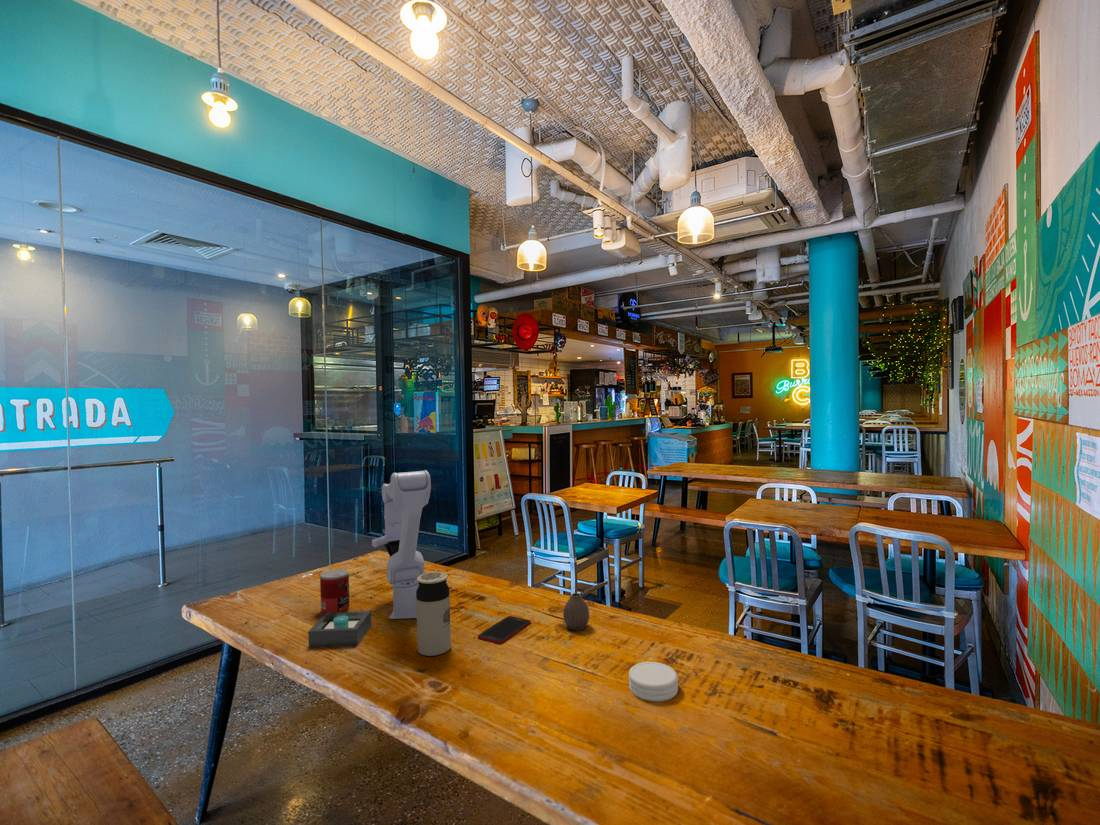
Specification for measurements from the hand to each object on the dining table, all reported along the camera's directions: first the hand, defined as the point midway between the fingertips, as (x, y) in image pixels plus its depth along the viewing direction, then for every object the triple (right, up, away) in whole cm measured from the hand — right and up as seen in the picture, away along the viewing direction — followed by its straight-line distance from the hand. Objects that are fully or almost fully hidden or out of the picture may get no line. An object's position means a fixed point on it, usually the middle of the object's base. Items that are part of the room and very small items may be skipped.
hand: (395, 564), depth 163 cm
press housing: (-6, -11, -27) cm, 29 cm away
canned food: (-15, -11, -9) cm, 21 cm away
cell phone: (+37, -11, -26) cm, 46 cm away
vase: (+56, -10, -25) cm, 62 cm away
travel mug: (+20, -11, -35) cm, 42 cm away
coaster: (+70, -10, -55) cm, 90 cm away
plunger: (-6, -10, -27) cm, 29 cm away
